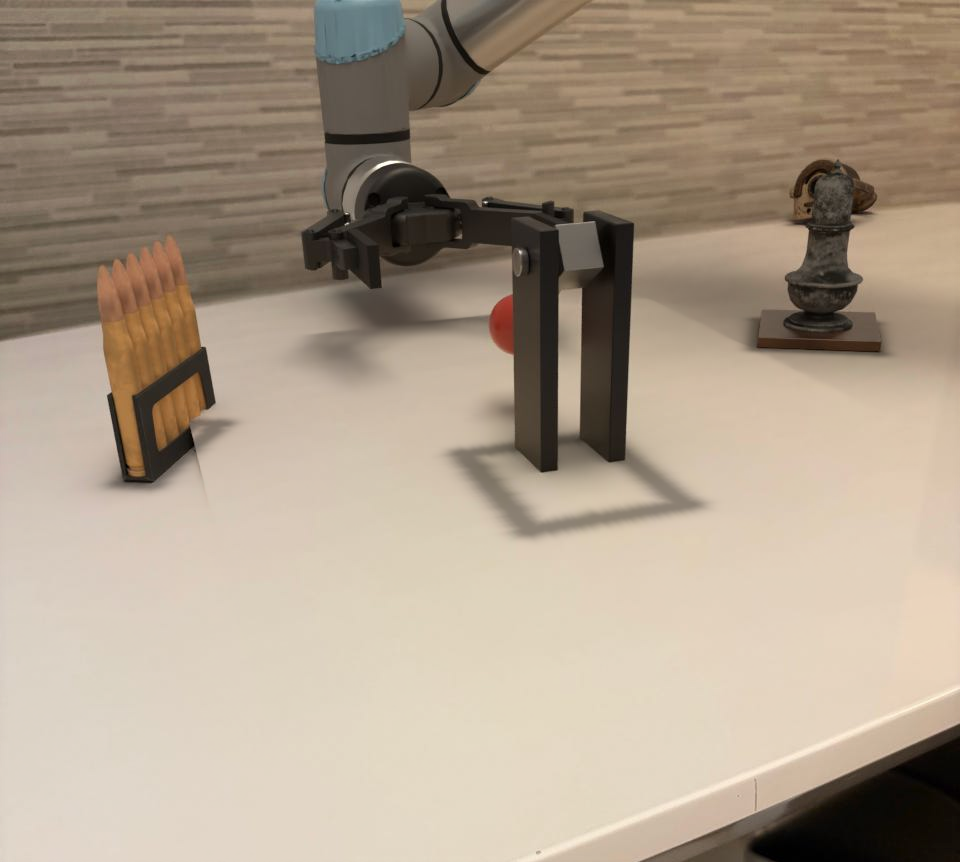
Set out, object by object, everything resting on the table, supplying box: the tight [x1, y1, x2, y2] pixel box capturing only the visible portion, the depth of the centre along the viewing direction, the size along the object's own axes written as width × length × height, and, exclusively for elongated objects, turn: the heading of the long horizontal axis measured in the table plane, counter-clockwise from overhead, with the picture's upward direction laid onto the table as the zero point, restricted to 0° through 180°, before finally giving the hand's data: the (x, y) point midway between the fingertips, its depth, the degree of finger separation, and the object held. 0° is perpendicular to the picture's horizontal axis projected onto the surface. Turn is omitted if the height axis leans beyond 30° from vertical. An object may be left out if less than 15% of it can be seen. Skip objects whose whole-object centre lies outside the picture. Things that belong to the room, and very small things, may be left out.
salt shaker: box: [783, 158, 864, 332], centre depth 82 cm, size 6×6×12 cm
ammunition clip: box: [96, 234, 216, 482], centre depth 64 cm, size 11×2×12 cm, turn 170°
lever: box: [488, 221, 604, 356], centre depth 61 cm, size 13×4×4 cm
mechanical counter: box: [789, 157, 878, 222], centre depth 128 cm, size 7×13×10 cm
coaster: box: [757, 308, 883, 352], centre depth 86 cm, size 9×9×1 cm
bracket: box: [511, 209, 635, 474], centre depth 58 cm, size 12×9×14 cm
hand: (475, 257), depth 71 cm, fingers open, 13 cm apart
